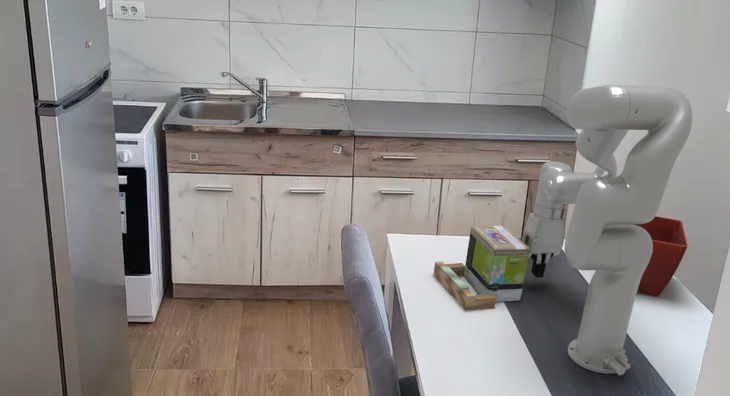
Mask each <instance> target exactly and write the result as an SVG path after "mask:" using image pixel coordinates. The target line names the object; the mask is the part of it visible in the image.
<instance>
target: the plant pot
mask: <svg viewBox="0 0 730 396" xmlns="http://www.w3.org/2000/svg"><path fill="white" fill-rule="evenodd" d="M632 225H636V226H639V227H641V228H643V229H645V230H646V231H647V232H648V233H649V235H650V237H651V239H652V243H653V251H652V255H651V258H650V261H649V263H648V265H647V267H646V269H645V271H644V273H643V275H642V278H641V280H640V283H639V286H638V290H637V293H641V294H645V295H650V296H655V297H657V296H661V294H662V293H663V291H664V290H665V289H666V287H667V286H668V285H669V283H670V281H672V278H673V277H674V275H675V273H676V272H677V270H678V268H679V267H680V265H681V264H680V263H682V260H683V258H684V255H685V253H686V252H687V248H688V247H689V246H688V242H687V238H686V234H685V229H684V225H683V222H682V220H679V219H674V218H667V217H663V216H657V215H656V216H655V217H654V218H653V220H652V221H650V222H648V223H645V224H632Z"/></svg>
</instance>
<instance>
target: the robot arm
mask: <svg viewBox="0 0 730 396" xmlns="http://www.w3.org/2000/svg"><path fill="white" fill-rule="evenodd" d="M566 116H567V117H566V118H567V121H568V123H569V125H570V126H571V127H572V128H574V129H575V130H580V133H578V136H577V137H576V140H575V148H576V150H577V152H578V153H579V155H580V156H581V157H582V158H584V159H585V160H586V161H587V162H590V163H591V164H593V165H596V168H595V170H594V171H592V172H578V171H577V172H573V169H572V167H571V166H570V165H568V164H567V163H564V162H561V161H546V162H545V163H543V164H542V166H541V168H540V173H539V177H538V178H539V179H538V183H537V184H538V185H537V190H536V191H537V192H536V196H535V202H534V208H533V212H530V214H529V215H528V217H527V221H526V223H525V226H524V230H523V233H522V238H521V241H522V242H523V243H524V244H526V245H527V246H528V247H529V248H530V251H529V257H528V259H531V260H532V265H531V271H530V272H531V274H532V275H533V276H535V278H537V279H539V278H540V279H541V278H544V275H545V271H546V265H548V263H549V262H550V260H551V258H552V257H554V256H557V255H559V254H561V251H562V250H563V246H564V256H565V259H566V262H567V264H569V266H571V268H573V269H575V270H579V271H595V272H594V273H593V275H592V277H591V278H590V281H589V284H588V288H587V294H586V298H585V301H584V302H585V303H584V307H583V312H582V316H581V321H580V326H579V331H578V334H577V338H575V339H573V340H571V341H570V342H569V343H568V346H567V354H568V356H569V358H570V359H571V360H572V361H573V362H574V363H576V365H578V366H580V367H581V368H584V369H585V370H589V371H590V372H591V371H592V372H595V373H599V374H608V375H609V374H612V375H613V374H617V375H618V376H622V375H624V374H625V372H626V371H627V370H629V369H630V368H631V364H630V363H629V362H628V357H627V355H626V352H627V351H626V350H625V349H624V345H625V342H626V336H627V332H628V329H629V324H630V320H631V315H632V312H633V309H634V304H635V301H636V297H637V294H638V292H637V290H638V286H639V283H640V280H641V278H642V275H643V273H644V271H645V269H646V267H647V265H648V263H649V261H650V258H651V255H652V251H653V243H652V239H651V237H650V235H649V233H648V232H647V231H646V230H645V229H643V228H641V227H639V226H636V225H632V224H645V223H648V222H650V221H652V220H653V218H654V217H655V216H657V213H658V210H659V209H660V206H661V203H662V201H663V197H664V194H665V191H666V189H667V186H668V183H669V180H670V177H671V174H672V171H673V168H674V165H675V163H676V161H677V159H678V157H679V156H680V153H681V152H682V150H683V148H684V147H685V145H686V143H687V141H688V139H689V136H690V134H691V130H692V126H693V110H692V105H691V103H690V100H689V99H688V97H687V96H686V95H685V94H684V93H683V92H681V91H679V90H677V89H673V88H670V87H663V86H652V85H651V86H650V85H630V84H629V85H627V84H623V85H622V84H606V85H600V86H599V85H598V86H594V87H588V88H582V89H580V90H578V91H577V92H575V94H574V95H572V97H571V98H570V100H569V102H568V104H567V110H566ZM629 131H647V132H648V133H647V134H646V135H645V136H643V137H642V138H641V139H640V140H639V141H638V142H637V143H635V145H634V146H633V147H632V148H631V150H630V152H629V153H628V154H627V157H626V160H625V164H624V166H623V170H622V171H621V173H620V174H619V175H617V174H618V172H617V171H618V169H617V166H618V165H617V162H616V159H615V156H614V153H615V152H616V150H617V149H618V147H619V145H620V144H621V143H622V141H623V140H624V139H625V137H626V135H627V134H628V133H629ZM568 205H573V206H574V207H573V210H572V214H571V218H570V221H569V225H568V228H567V232H566V216H565V212H566V211H568V210H569V206H568ZM565 234H566V235H565Z"/></svg>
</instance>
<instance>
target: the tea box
mask: <svg viewBox="0 0 730 396" xmlns="http://www.w3.org/2000/svg"><path fill="white" fill-rule="evenodd" d="M529 251H530V248H529V247H528V246H527V245H526V244H524V243H523V242H522V239H520V238H519V237H518V236H516V235H515V234H514V233H513V232H512V231H511V230H510V229H509V228H507V226H505V225H476V226H475V225H473V226H472V225H471V227H470V231H469V239H468V246H467V252H466V258H465V259H466V260H465V264H464V266H465V271H464V276H463V277H465V279H466V280H467V281H468V282H469V284H470V285H472V287H473V288H474V289H475V290H476V292H477V294H478V295H479V294H489V293H493V294H494V295H495V296H496V303H497V302H498V303H500V302H516V301H517V302H518V301H521V297H522V293H523V288H524V282H525V278H526V277H525V276H526V270H527V266H528V262H529Z"/></svg>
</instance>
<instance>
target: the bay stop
mask: <svg viewBox="0 0 730 396" xmlns="http://www.w3.org/2000/svg"><path fill="white" fill-rule="evenodd" d="M464 271H465V264H463V262H455V263H445V262H443V261H442V260H440V261H435V262H434V268H433V277H434V278H435V279H436V280H437V281H438V282H439V283H440V285H442V286H443V288H444V290H446V291H447V292H448V293H449V294H450V296H451V297H452V296H453V297H454V298H455V299H456V300H457V301H458V302H459V303H458V302H457V301H456V300H455V299H454V298H453V297H452V298H453V299H454V300H455V301H456V302H457V303H458V304H459V305H461V306H462V307H463V308H464V309H465V310H466V311H465V310H464V309H463V308H462V307H461V306H460V307H461V308H462V309H463V310H464V311H465V312H468V311H467V310H470V311H477V309H478V311H479V309H480V310H486V309H487V310H488V309H495V308H496V304H497V302H496V296H495V295H494V294H493V293H489V294H479V293H478V294H474V293H473V292H472V291H471V290H470V288H469V286H468V285H467V283H465V282H464V281H463V280H462V278H460V277H459V276H462V277H465V276H464Z"/></svg>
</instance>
